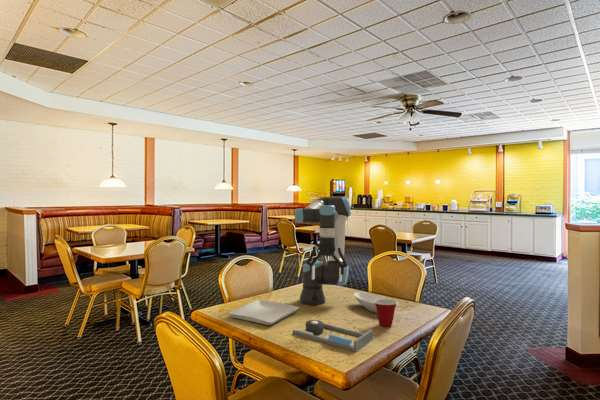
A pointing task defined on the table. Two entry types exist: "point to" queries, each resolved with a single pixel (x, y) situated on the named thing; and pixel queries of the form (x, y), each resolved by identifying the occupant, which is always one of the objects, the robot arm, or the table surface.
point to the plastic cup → (385, 311)
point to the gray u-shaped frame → (340, 338)
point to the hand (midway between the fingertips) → (326, 280)
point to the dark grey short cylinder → (314, 327)
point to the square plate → (263, 311)
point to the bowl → (369, 300)
